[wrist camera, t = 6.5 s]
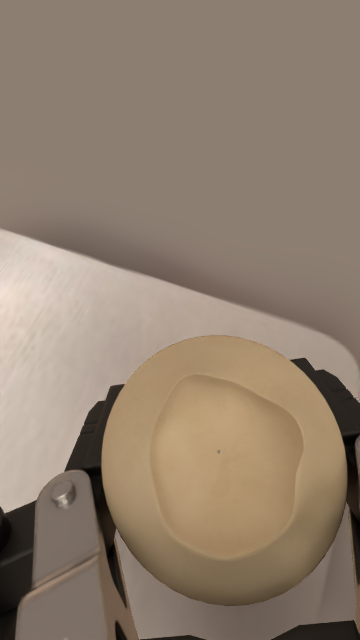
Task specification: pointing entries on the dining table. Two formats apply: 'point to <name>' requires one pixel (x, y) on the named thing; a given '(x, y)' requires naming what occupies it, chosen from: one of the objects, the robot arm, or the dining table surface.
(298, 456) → the candle
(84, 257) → the dining table surface
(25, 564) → the robot arm
